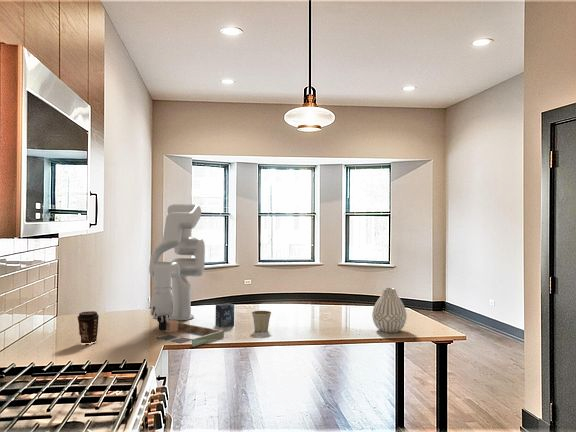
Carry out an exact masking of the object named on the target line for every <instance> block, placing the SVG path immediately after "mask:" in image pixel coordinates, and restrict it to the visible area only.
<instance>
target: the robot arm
mask: <svg viewBox="0 0 576 432" xmlns="http://www.w3.org/2000/svg"><path fill="white" fill-rule="evenodd" d="M201 216H202V208H201V206H200V205H199V204H196V203H172V204H169V206H167V215H166V217H165V222H164V223H165V224H164V229H163V230H164V231H163V237H162V241H161V242H160V243H159V244H157V246H156V247H155V248H154V250H152V253H151V256H150V261H149V267H148V269H149V270H148V272H149V276H151V277H152V278H153V282H154V283H153V294H152V297H151V300H150V315H151V316H152V319H153V320H156V321H157V323H158V331H162V332H164V331H165V330H166V322H167V321H168V320H175V321H188V320H189V321H190V320H192V319H194V318H195V316H194V314H192V313H191V308H192V306H191V300H192V299H191V297H192V293H191V290H192V285H191V282H190V280H189V279H188V277H201V276H203V275H204V273H205V258H206V257H205V254H206V250H205V249H206V247H205V241H204V239H203V238H201V237H193V236H191V235H192V233H191V232H192V229H194V228H195V227H196V225H197V224H198V222H199V221H200V219H201ZM171 249H173V251H174V253H175V254H176V255H177V256H193V258H191V257H179V258H178V257H176V258H174V259H172V261H159V259H160V257H161V255H163V254H164V253H165V252H168V251H169V250H171Z"/></svg>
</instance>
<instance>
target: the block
mask: <svg viewBox="0 0 576 432" xmlns="http://www.w3.org/2000/svg"><path fill="white" fill-rule="evenodd" d="M178 323H179V320H171V319H168V320H167V322H166V330H165V333H169V334H170V333H174V332H179V330H178Z"/></svg>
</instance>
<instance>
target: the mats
mask: <svg viewBox="0 0 576 432" xmlns="http://www.w3.org/2000/svg"><path fill="white" fill-rule="evenodd" d="M158 338H159V339H158ZM175 338H176V339H175ZM157 339H158V340H163V339H164V340H163V341H168V339H169V340H171V342H172V343H177V344H183V343H186V342H189V341H192V339H193V338H187V337H179V338H178V336H177V335H172V334H166V335H162V336H158V337H157Z"/></svg>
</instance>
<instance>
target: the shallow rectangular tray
mask: <svg viewBox="0 0 576 432" xmlns="http://www.w3.org/2000/svg"><path fill="white" fill-rule="evenodd" d="M178 331H184V332H189V333H195V334H200V335H202V336H198V337H195V338H191V339H192V340H191V347H193V348H194V347H197V346H201V345H203V344H208V343H210V342H213V341H217V340H220V339H224V337H225V330H223V329H222V330H221V329H216V328H211V327H206V326H205V327H204V326H199V325H193V324H188V323H181V322H178Z"/></svg>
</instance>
